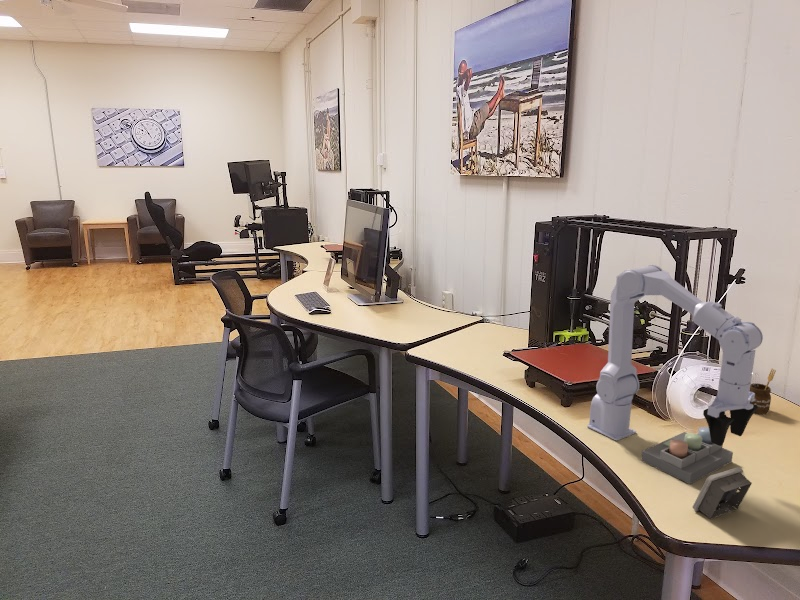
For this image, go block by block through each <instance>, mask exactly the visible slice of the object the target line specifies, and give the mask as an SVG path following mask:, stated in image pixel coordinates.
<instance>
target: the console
mask: <svg viewBox="0 0 800 600" xmlns="http://www.w3.org/2000/svg"><path fill="white" fill-rule="evenodd" d="M685 434H687V432H685V431H683V432H680V433H679V434H677V435H675V436H672V437H670V438H668V439H665V440H664V441H662V442H659V443H657V444H654V445H652V446H650V447H648V448H646V449H644V450H642V451H641V457H640V458H641V459H640V461H641V462H643V463H645V464H647V465H649V466H651V467H653V468H656V469H658V470H659V471H662V472H664V473H666V474H668V475H670V476H672V477H674V478H676V479H678V480H680V481H682V482H685V483H686V484H688V485H691V484H693V483H694V482H697V481H698V480H701V479H702V478H705V477H706V476H708V475H710V474H711V473H714V472H715V471H718V470H719V469H721V468H724V467H725V466H727V465H728V464H731V463H732V462H733V455H734V452H733V451H732V450H729V449H726V448H724V446H723V445H724V444H723V445H722V446H719V445H716V444H714V443H704V442H702V446H701V449H700V450H691V449H688V450H687V456H686V457H676V456H673V455H672V454H670V452H669V450H670V441H671V440H682V441H684V439H685Z"/></svg>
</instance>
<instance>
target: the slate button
mask: <svg viewBox="0 0 800 600" xmlns="http://www.w3.org/2000/svg"><path fill="white" fill-rule="evenodd" d="M697 434H698V435H700V436H701V437H702V442H704V443H712V442H711V437H710V431H709V426H701V427H698V432H697Z"/></svg>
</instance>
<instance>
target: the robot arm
mask: <svg viewBox="0 0 800 600" xmlns="http://www.w3.org/2000/svg"><path fill="white" fill-rule="evenodd" d="M645 296H662V297H663V298H665V299H667V300H668V301H670V302H672V303H673V304H675V305H677V306H678V307H680V308H681V309H683V310H684V311H686V312H688V313H690V314H691V316H692V321H693V323H694V324H695V325H697V326H698V327H699V328H701V329H703V330H704V331H705V332H707V333H708V334H709V335H710V336H712V337H713V338H715V339H716V340H718V343H719V346H720V348H721V350H722V358H721V366H720V374H719V379H718V389H717V395H716V396H715V398H714V399H713V401H712V403H711V404H710V405H708V407H707V408H705V409H703V414H702V416H703V417H704V418H705V421H706V424H707V427H709V431H710V437H711V442H712V443H714V444H716V445H719V446H722V445H724V442H725V440H726V436H727V432H728V431H729V429H730V433H731V434H733V435H736V436H738V437H741V436H742V435H744V432H745V430H746V427H747V425H748V423H749V421H750V419H751V418H752V417H753V416H754V414H755V412H756V411H757V409H758V406H757V405H754V404H752V403H751V402H753V401H754V397H755V393H753V392H750V384H752V379H753V370H754V365H755V357H756V349H757V348H759V347H760V346H761V345H762V343H763V339H764V337H763V336H764V335H763V332H762V330H761V329H760V328H759V327H758V326H757V325H756V324H755V323H754V322H751V321H742V319H741V318H740V317H738V316H736V317H735V316H734V315H732V314H731V313H729V312H728V311H727V310H725V309H724V308H722V307H723V305H722V304H721V303H719V302H718V301H717V302H713V301H704V302H703V300H701V299H700V298H698V297H697V296H696V295H694V294H693V293H692V292H691V291H689V290H688V289H687V288H685V287H684V286H683V285H681V284H680V283H679V282H677V280H675V279H673V277H672V276H671V275H670V272H668V271H667V270H663V268H661V267H660V266H658V265H656V264H655V265H654V264H650V265H648V266H643V267H638V268H629V269H626V270H624V271H622V272H621V273H619V274H618V275H617V276H616V283H615V285H614V287H613V289H612V291H611V293H610V302H609V303H610V304H609V305H610V309H609V328H608V329H609V330H608V332H609V333H608V350H607V351H608V352H607V353H608V354H607V363H606V364H605V365H604V366H603V368H602V369H601V370H600V372H599V379H598V380H597V382H596V386H595V387H596V389H595V390H596V392H597V393H596V394H595V395H594V396H593V397H592V400H591V403H590V407H589V424H587V425H586V427H587V428H588V429H591V430H593V431H595V432H597V433H599V434H602V435H604V436H606V437H608V438H610V439H611V440H613V441H618V442H619V441H620V440H623V439H624V438H627V437H629V436H632V435H634V434H637V430H635V429H633V428H631V427H630V422H631V412H632V402H633V399H634V395H635V394H636V393H638V392H639V390H640V381H639V378H638V373H637V372H638V369H637V368H636V366H634V365H633V364H632V356H633V355H632V353H633V341H634V340H633V337H634V335H633V334H634V316H635V303H636V302H638V301H639V300H640V299H642V298H643V297H645ZM728 411H729V415H730V417H728V416H727V414H726V412H728Z"/></svg>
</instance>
